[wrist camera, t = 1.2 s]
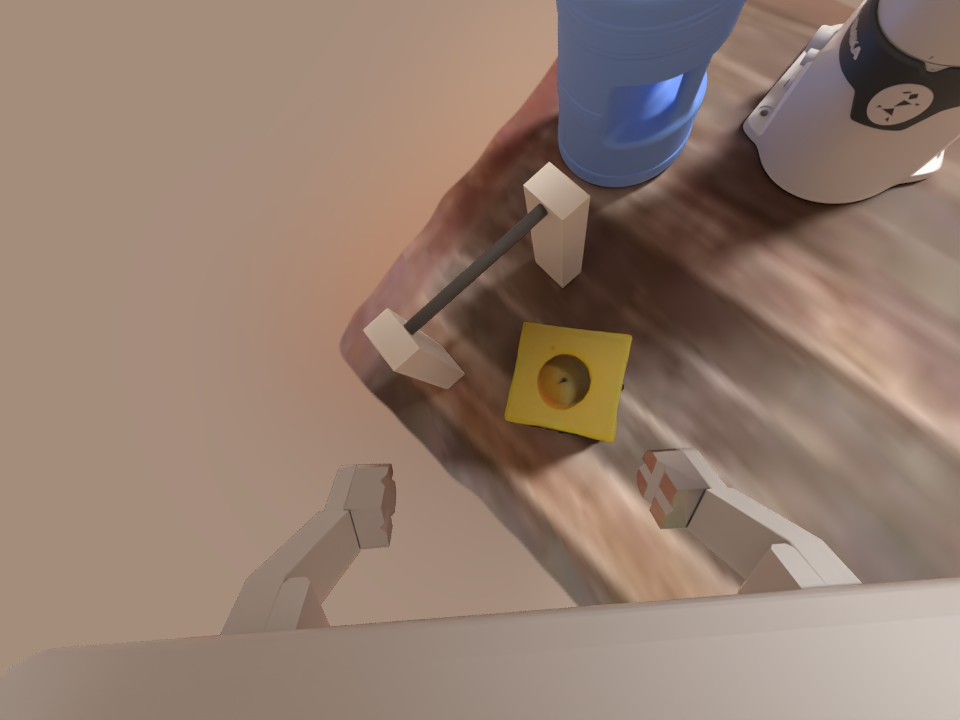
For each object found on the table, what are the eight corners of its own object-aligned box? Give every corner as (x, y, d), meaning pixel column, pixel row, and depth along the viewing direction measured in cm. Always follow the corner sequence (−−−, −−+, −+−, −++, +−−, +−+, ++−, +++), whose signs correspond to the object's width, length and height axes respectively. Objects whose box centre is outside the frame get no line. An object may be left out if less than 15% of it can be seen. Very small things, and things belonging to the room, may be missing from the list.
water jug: (533, 151, 49) (498, -190, 22) (613, 65, 48) (677, -387, 22) (627, 214, 44) (727, -117, 17) (715, 119, 44) (956, -365, 17)
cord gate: (553, 245, 46) (549, 161, 31) (581, 271, 44) (590, 195, 30) (424, 360, 47) (362, 330, 32) (447, 389, 45) (393, 371, 31)
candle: (619, 354, 41) (636, 332, 32) (605, 442, 40) (618, 446, 30) (531, 340, 44) (523, 316, 34) (515, 422, 43) (502, 420, 33)
